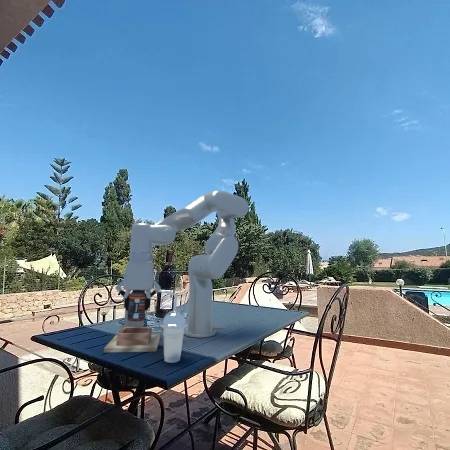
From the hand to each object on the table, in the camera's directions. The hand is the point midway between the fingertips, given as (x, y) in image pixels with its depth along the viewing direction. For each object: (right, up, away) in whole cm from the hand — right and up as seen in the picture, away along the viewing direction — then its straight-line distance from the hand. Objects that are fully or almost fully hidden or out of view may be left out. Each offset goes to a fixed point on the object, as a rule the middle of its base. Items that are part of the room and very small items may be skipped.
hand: (137, 309), depth 97 cm
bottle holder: (0, -11, -2) cm, 12 cm away
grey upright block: (-10, -15, +26) cm, 32 cm away
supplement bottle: (0, -4, -1) cm, 4 cm away
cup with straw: (+15, -10, -15) cm, 24 cm away
